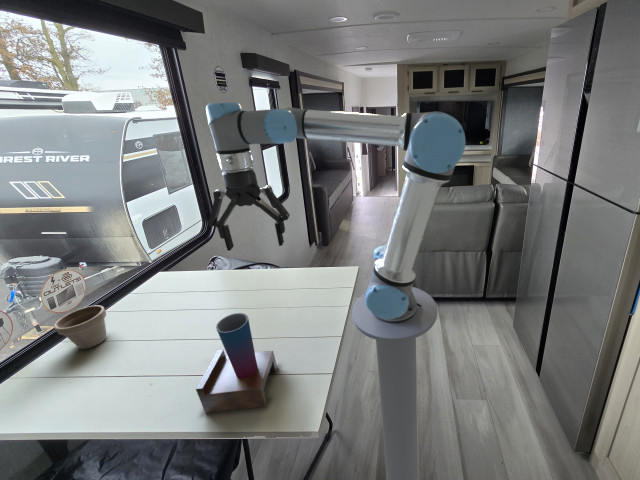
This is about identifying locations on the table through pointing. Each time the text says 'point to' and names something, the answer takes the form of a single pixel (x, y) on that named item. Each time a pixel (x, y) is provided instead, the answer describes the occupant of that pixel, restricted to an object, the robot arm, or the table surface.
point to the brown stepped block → (234, 384)
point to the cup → (238, 343)
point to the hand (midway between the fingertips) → (256, 246)
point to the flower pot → (84, 326)
